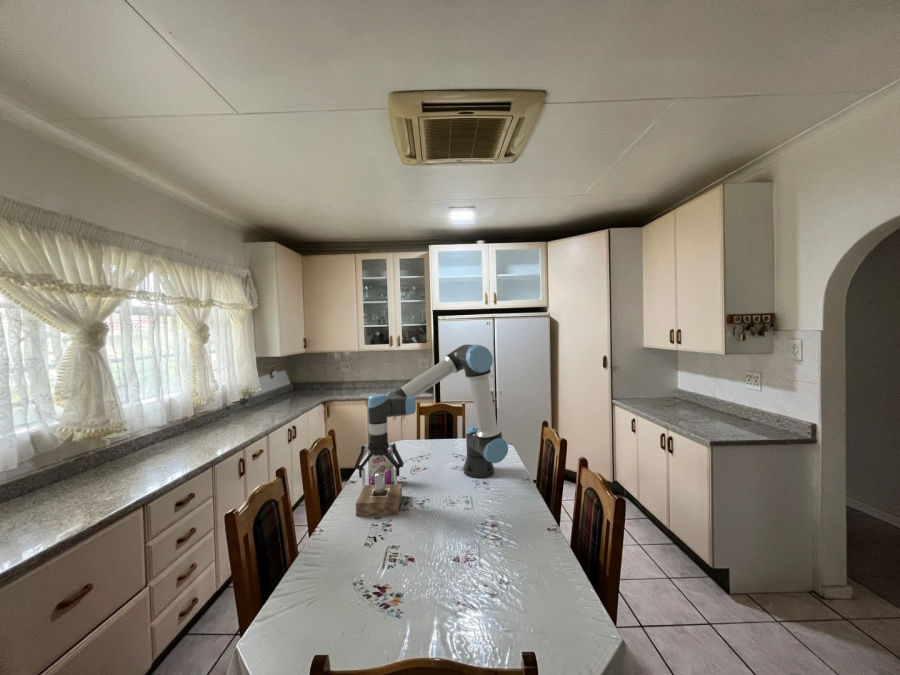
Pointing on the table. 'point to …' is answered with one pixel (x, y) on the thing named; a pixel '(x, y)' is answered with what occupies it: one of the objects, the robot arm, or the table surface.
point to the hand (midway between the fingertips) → (379, 484)
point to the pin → (379, 484)
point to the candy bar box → (381, 467)
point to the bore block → (379, 501)
